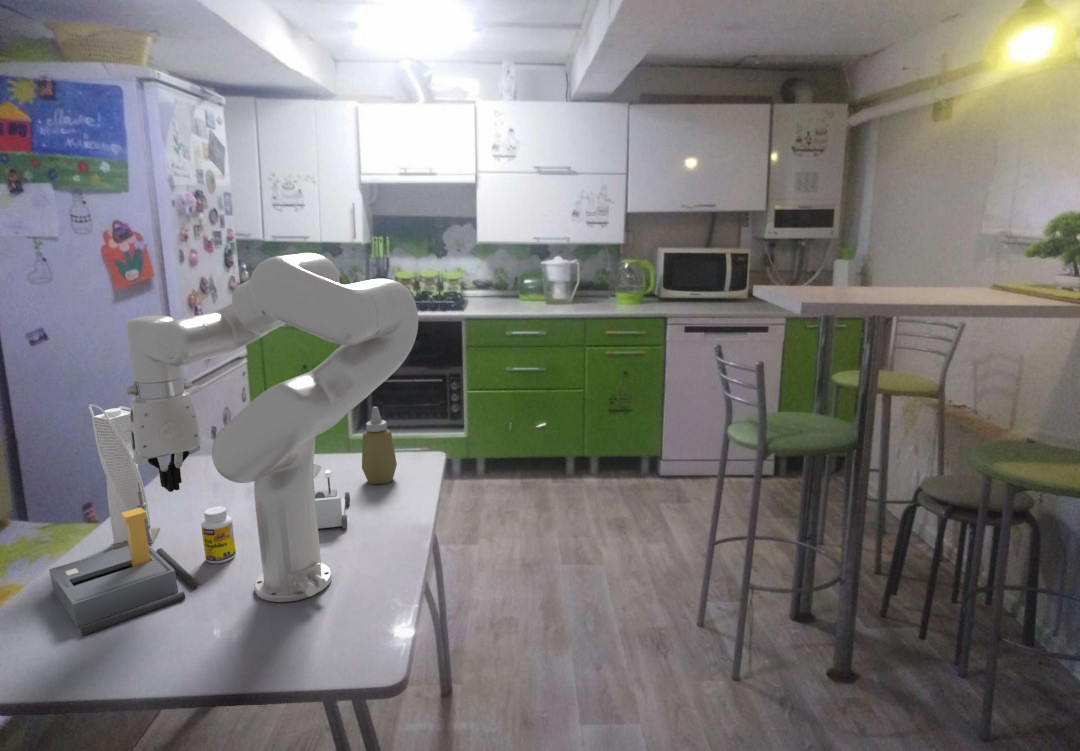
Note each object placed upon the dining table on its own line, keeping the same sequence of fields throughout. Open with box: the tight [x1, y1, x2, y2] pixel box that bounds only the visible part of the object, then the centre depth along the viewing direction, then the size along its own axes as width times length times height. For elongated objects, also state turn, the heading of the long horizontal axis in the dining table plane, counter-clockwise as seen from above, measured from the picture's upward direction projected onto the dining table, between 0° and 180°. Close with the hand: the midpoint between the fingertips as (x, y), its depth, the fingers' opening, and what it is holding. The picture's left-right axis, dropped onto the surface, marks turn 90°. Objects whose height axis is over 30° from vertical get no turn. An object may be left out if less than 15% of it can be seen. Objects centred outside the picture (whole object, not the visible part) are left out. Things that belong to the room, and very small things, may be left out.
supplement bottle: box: [200, 505, 237, 564], centre depth 135 cm, size 5×5×10 cm
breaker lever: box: [121, 508, 150, 567], centre depth 126 cm, size 3×3×10 cm
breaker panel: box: [48, 545, 179, 628], centre depth 124 cm, size 16×15×4 cm
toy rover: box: [313, 463, 351, 530], centre depth 153 cm, size 18×10×12 cm
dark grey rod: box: [155, 547, 199, 589], centre depth 131 cm, size 18×1×1 cm, turn 44°
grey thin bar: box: [79, 591, 186, 636], centre depth 117 cm, size 1×15×1 cm, turn 134°
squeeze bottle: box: [361, 406, 398, 485], centre depth 171 cm, size 8×8×18 cm
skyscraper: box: [87, 403, 161, 551], centre depth 141 cm, size 8×8×28 cm
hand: (171, 488), depth 129 cm, fingers closed
